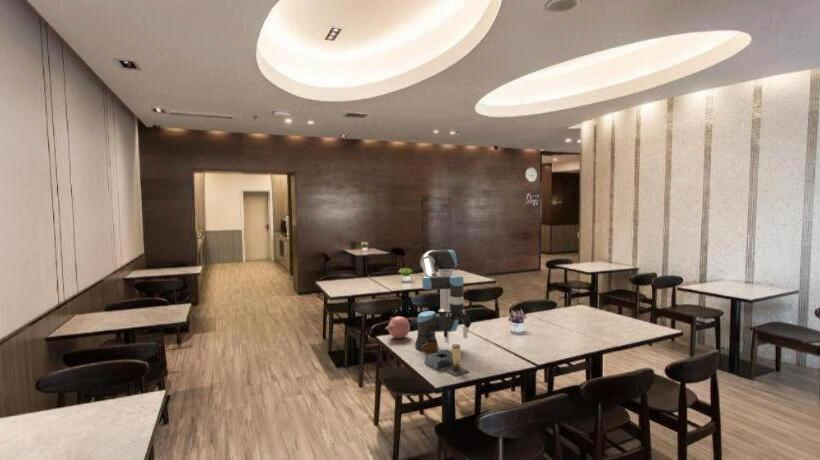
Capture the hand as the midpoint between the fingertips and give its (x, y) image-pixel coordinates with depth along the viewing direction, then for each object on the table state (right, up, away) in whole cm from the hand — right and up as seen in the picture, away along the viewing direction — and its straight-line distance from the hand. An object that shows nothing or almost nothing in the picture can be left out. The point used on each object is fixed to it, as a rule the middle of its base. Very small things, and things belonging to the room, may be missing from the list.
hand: (456, 340), depth 226 cm
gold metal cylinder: (0, -17, +1) cm, 17 cm away
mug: (-14, -17, +22) cm, 31 cm away
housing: (-7, -17, +11) cm, 22 cm away
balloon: (-36, -15, +57) cm, 69 cm away
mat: (0, -18, +1) cm, 18 cm away
